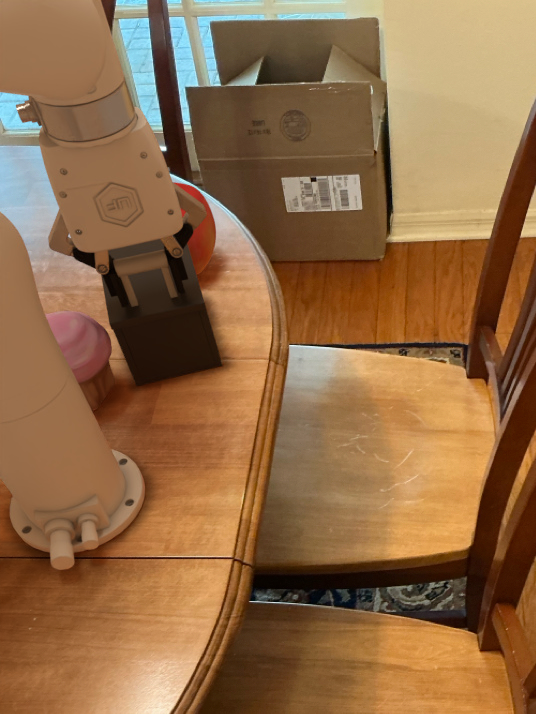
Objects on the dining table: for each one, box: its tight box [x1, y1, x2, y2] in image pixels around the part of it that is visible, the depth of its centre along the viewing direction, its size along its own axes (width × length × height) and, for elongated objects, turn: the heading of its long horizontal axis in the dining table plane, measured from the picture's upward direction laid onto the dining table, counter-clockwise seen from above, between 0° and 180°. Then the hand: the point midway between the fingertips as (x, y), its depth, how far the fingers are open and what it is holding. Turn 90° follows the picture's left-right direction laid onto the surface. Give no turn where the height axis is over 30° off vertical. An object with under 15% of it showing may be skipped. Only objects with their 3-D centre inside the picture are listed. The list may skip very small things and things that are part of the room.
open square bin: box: [112, 308, 223, 387], centre depth 85 cm, size 13×10×8 cm
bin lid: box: [100, 239, 207, 331], centre depth 79 cm, size 13×10×6 cm
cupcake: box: [45, 310, 116, 412], centre depth 80 cm, size 9×9×10 cm
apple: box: [172, 181, 217, 276], centre depth 93 cm, size 10×10×10 cm
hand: (151, 290), depth 78 cm, fingers closed on bin lid, 5 cm apart
